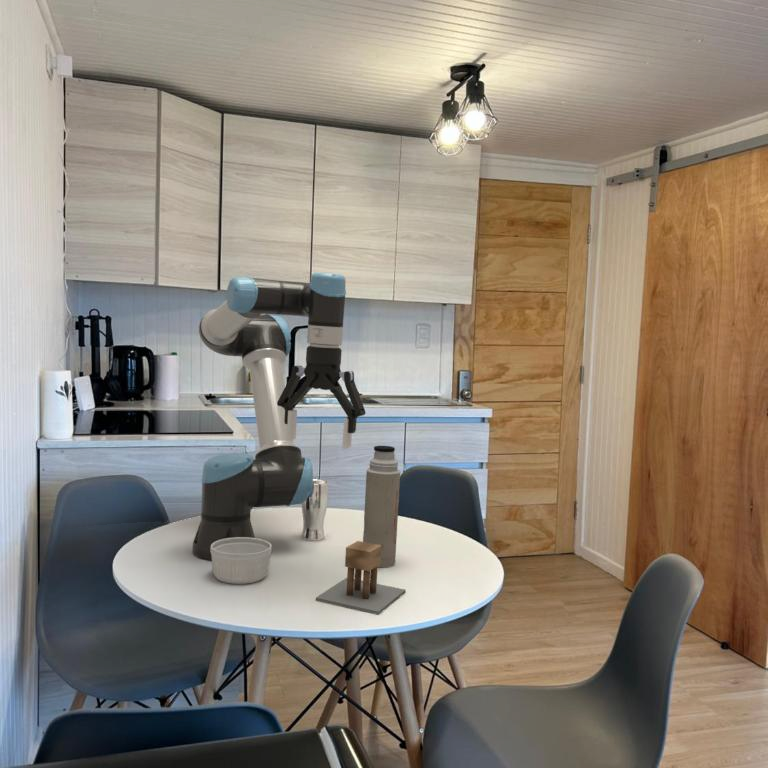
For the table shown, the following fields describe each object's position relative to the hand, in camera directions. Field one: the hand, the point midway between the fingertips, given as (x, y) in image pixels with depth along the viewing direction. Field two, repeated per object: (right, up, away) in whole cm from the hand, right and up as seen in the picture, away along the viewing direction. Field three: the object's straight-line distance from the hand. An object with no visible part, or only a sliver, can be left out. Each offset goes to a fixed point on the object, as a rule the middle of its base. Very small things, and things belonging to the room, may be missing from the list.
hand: (318, 443), depth 155 cm
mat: (+10, -31, -7) cm, 33 cm away
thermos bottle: (+13, -30, +15) cm, 36 cm away
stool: (+10, -31, -7) cm, 33 cm away
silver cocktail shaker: (-4, -28, +33) cm, 43 cm away
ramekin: (-17, -29, +1) cm, 34 cm away
